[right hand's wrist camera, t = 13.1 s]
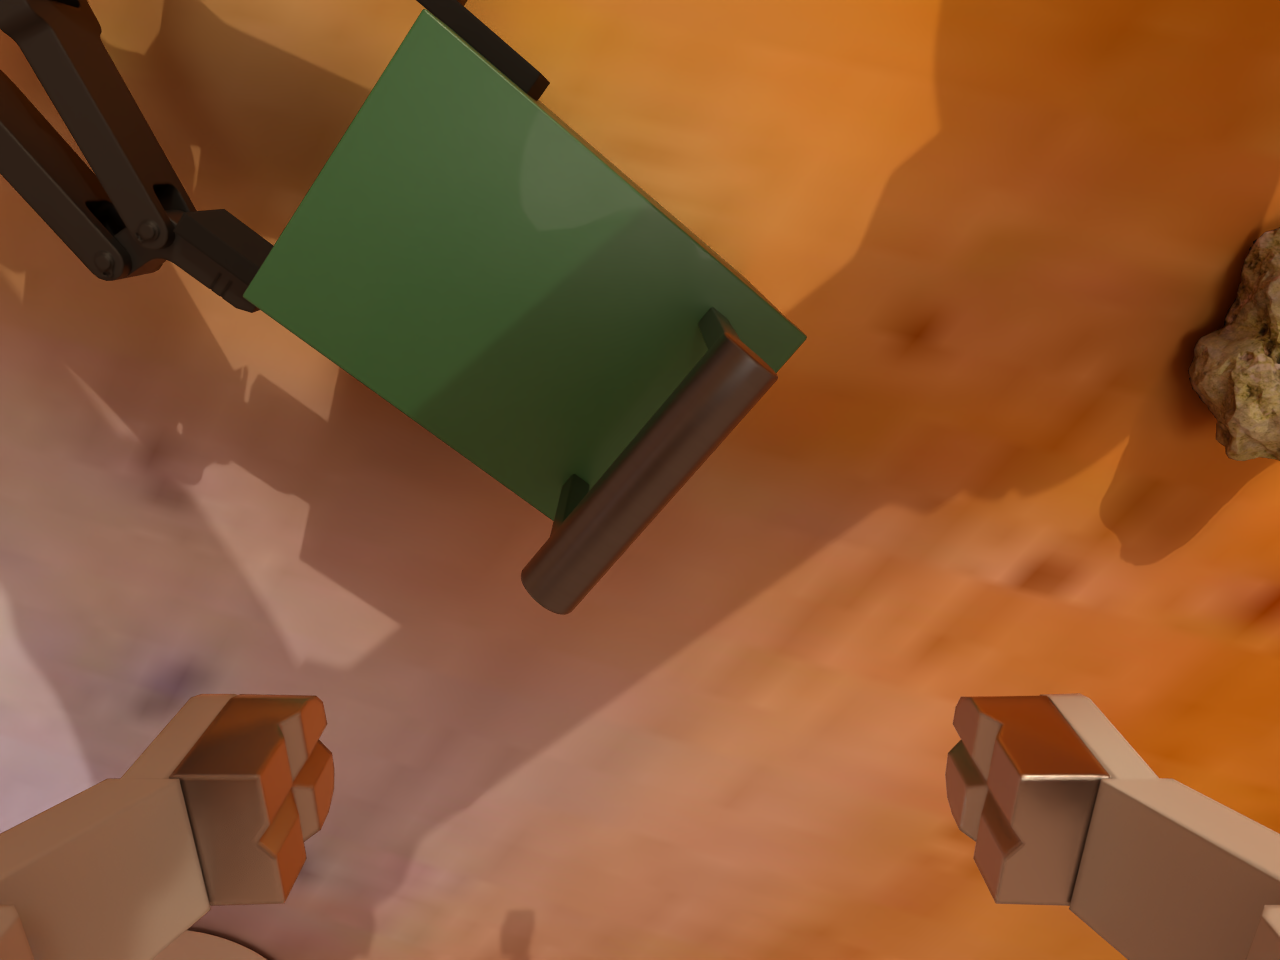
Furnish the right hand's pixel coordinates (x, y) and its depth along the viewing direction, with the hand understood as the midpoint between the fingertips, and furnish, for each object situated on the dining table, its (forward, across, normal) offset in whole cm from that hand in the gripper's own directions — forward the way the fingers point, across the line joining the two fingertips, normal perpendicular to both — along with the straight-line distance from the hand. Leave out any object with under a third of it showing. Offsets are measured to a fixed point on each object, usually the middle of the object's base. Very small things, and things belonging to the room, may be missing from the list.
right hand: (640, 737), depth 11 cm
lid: (+17, +3, -3) cm, 17 cm away
